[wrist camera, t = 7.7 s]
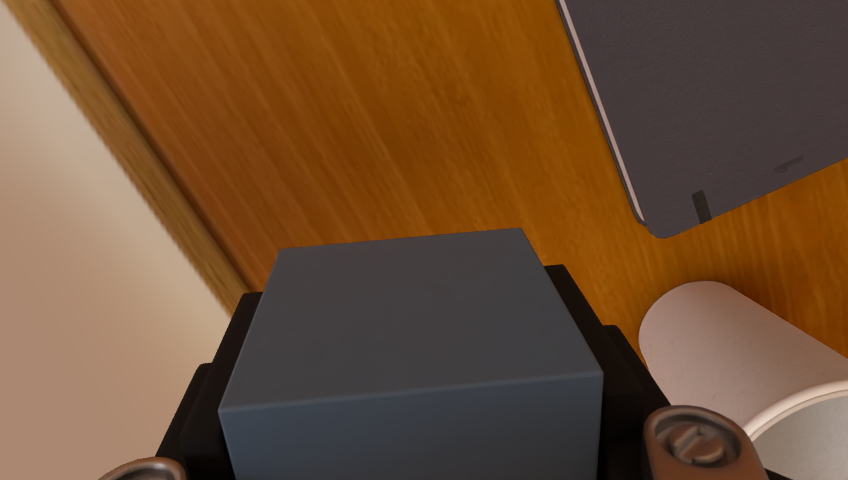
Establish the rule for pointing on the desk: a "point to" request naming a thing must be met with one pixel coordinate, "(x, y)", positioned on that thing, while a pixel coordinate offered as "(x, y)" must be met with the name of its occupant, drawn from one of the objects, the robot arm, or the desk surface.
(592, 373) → the block
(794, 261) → the desk surface
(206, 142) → the desk surface
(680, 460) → the robot arm
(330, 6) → the desk surface
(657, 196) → the notebook
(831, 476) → the dixie cup
